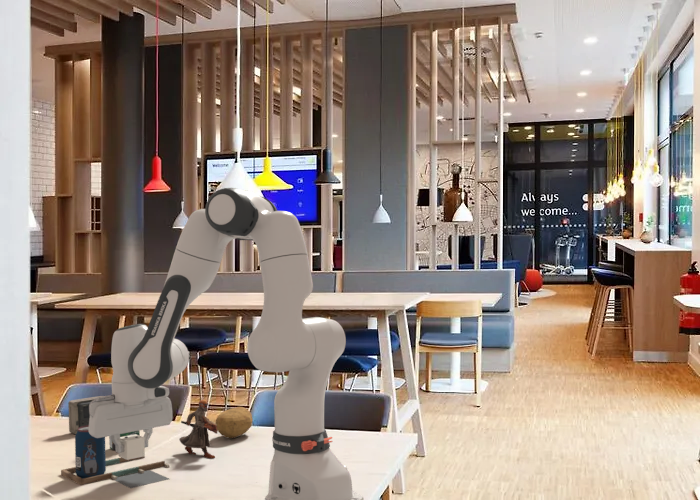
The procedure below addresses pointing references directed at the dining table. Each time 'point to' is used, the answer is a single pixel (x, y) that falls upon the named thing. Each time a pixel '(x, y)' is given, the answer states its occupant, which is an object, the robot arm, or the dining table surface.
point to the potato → (234, 422)
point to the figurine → (199, 431)
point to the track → (113, 475)
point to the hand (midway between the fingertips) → (132, 449)
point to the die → (132, 447)
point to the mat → (140, 479)
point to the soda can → (89, 454)
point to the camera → (79, 413)
